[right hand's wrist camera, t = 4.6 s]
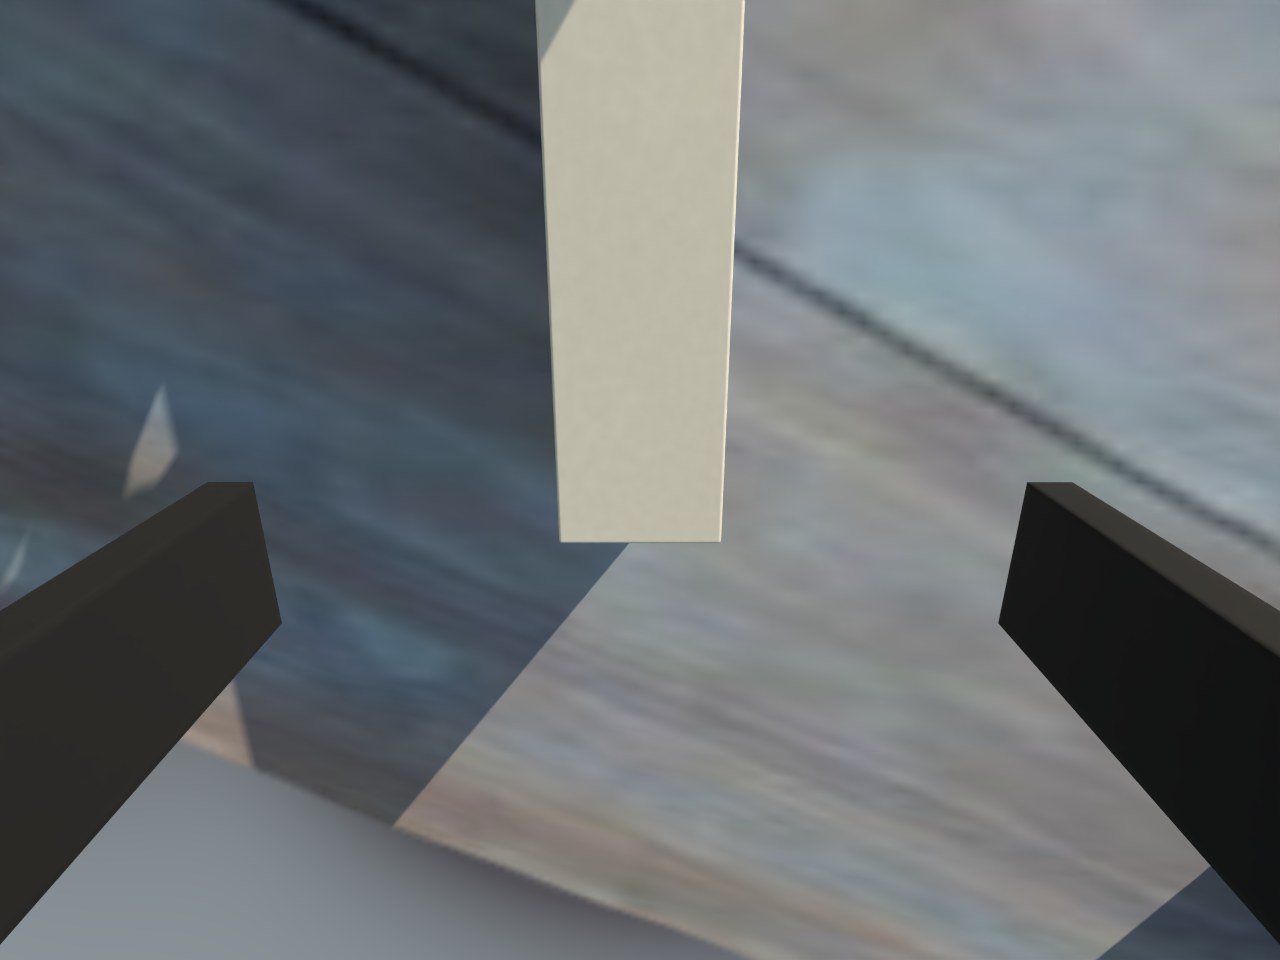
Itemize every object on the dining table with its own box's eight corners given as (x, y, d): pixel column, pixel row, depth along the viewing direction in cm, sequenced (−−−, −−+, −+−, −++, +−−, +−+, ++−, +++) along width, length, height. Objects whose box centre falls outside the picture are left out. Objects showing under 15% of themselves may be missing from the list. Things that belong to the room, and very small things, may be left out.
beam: (700, 459, 29) (721, 544, 22) (579, 459, 29) (558, 543, 22) (734, -611, 19) (796, -1158, 11) (545, -611, 19) (483, -1158, 11)
